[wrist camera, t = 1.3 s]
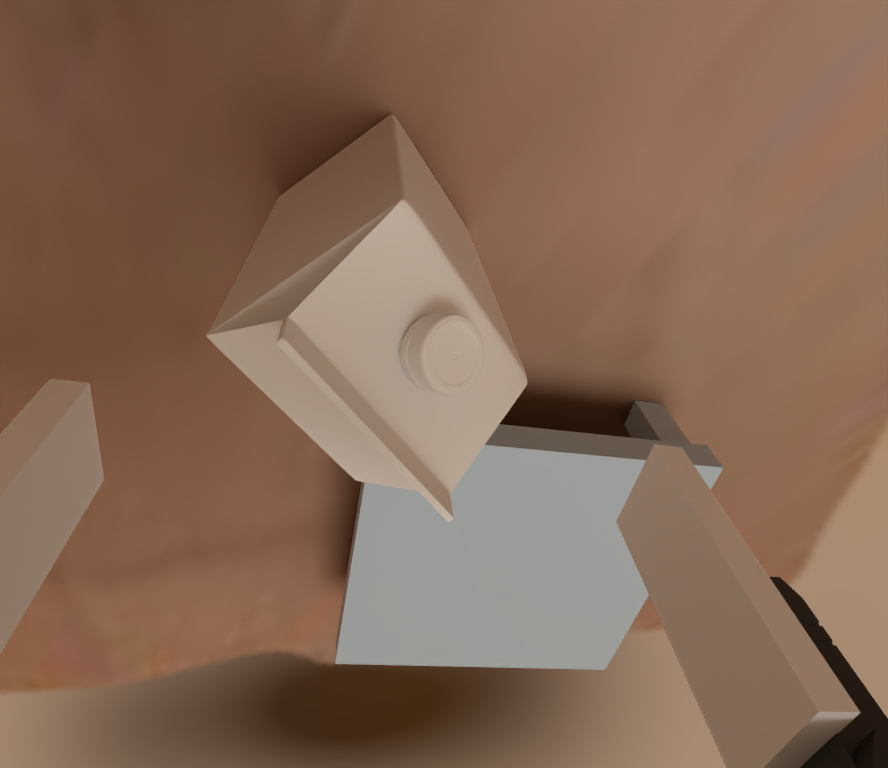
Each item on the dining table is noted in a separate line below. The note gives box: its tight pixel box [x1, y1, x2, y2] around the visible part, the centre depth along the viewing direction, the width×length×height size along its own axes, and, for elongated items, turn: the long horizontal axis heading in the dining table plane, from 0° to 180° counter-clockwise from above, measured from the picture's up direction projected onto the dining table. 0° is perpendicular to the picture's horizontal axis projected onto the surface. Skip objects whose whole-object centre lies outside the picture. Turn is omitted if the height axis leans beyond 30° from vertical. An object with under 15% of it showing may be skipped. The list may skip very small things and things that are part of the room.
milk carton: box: [206, 114, 527, 522], centre depth 22 cm, size 7×7×19 cm
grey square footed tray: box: [335, 401, 723, 670], centre depth 39 cm, size 20×20×7 cm
